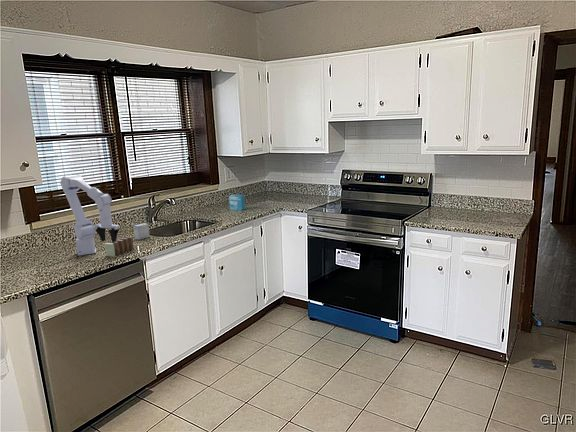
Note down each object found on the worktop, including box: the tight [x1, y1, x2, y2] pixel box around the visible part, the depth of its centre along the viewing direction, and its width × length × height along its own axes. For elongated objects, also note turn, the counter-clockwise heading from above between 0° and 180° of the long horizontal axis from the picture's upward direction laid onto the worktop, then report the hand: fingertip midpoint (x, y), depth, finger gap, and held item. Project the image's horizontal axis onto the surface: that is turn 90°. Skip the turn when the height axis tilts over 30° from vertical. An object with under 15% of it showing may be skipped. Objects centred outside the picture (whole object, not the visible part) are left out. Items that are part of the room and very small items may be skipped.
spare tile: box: [104, 242, 116, 258], centre depth 237 cm, size 2×5×7 cm, turn 67°
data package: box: [228, 194, 246, 211], centre depth 352 cm, size 12×4×12 cm, turn 63°
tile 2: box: [118, 237, 130, 252], centre depth 247 cm, size 2×5×7 cm, turn 67°
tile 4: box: [109, 240, 121, 256], centre depth 241 cm, size 2×5×7 cm, turn 67°
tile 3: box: [116, 239, 126, 254], centre depth 244 cm, size 2×5×7 cm, turn 67°
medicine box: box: [133, 222, 150, 240], centre depth 273 cm, size 8×4×9 cm, turn 141°
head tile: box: [123, 235, 135, 250], centre depth 250 cm, size 2×5×7 cm, turn 67°
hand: (108, 241), depth 237 cm, fingers open, 7 cm apart
